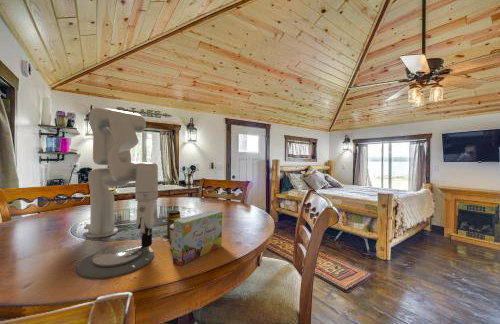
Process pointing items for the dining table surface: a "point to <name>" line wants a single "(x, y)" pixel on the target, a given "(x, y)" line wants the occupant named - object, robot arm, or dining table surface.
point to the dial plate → (92, 271)
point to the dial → (118, 255)
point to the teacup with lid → (171, 236)
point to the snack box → (196, 236)
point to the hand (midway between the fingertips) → (146, 245)
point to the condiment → (170, 220)
